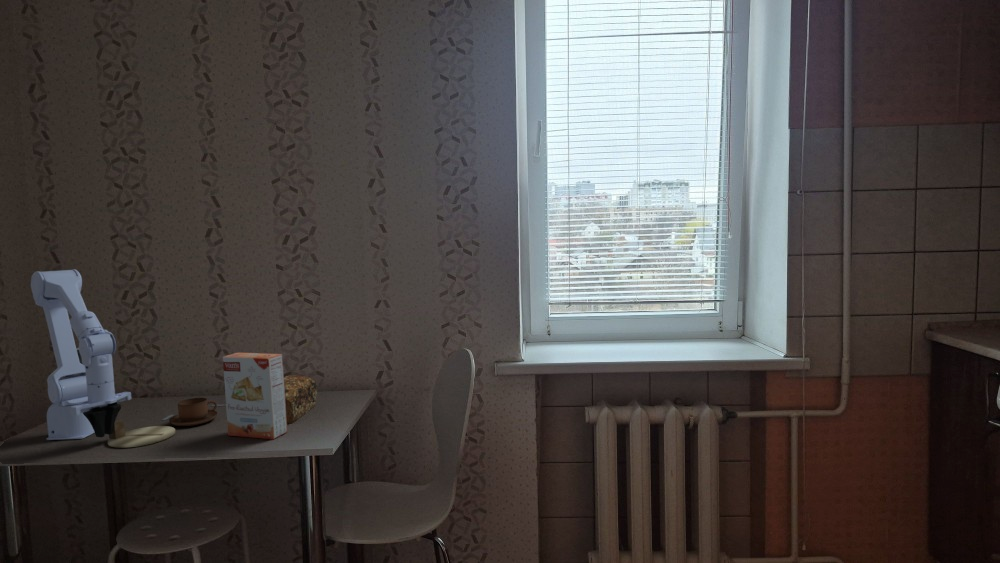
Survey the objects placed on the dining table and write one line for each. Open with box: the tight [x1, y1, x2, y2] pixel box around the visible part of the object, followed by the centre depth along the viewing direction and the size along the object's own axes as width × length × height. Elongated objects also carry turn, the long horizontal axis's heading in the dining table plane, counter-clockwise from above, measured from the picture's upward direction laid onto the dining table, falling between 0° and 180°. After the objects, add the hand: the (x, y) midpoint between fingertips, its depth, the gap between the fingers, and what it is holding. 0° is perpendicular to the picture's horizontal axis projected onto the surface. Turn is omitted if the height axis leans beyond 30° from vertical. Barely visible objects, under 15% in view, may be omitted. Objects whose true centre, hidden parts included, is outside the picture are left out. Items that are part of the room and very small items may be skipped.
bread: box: [284, 374, 318, 424], centre depth 173 cm, size 19×11×10 cm, turn 176°
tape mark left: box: [161, 414, 175, 421], centre depth 174 cm, size 1×5×1 cm, turn 1°
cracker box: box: [222, 352, 288, 440], centre depth 154 cm, size 14×6×21 cm, turn 73°
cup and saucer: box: [168, 397, 218, 427], centre depth 168 cm, size 12×12×6 cm
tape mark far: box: [211, 404, 226, 407], centre depth 185 cm, size 5×1×1 cm, turn 91°
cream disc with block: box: [107, 419, 176, 449], centre depth 156 cm, size 15×15×5 cm
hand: (104, 435), depth 152 cm, fingers closed
